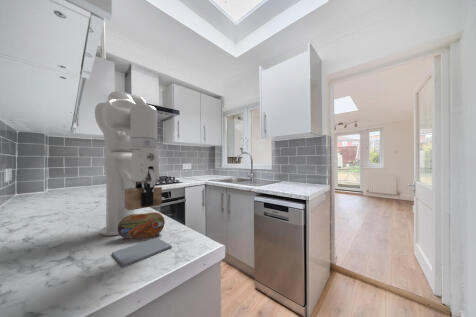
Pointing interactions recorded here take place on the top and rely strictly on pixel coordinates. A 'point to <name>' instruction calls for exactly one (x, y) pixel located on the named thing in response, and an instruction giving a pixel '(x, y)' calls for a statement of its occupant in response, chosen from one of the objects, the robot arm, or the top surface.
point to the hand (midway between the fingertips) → (143, 204)
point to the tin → (141, 225)
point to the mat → (140, 251)
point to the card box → (135, 198)
